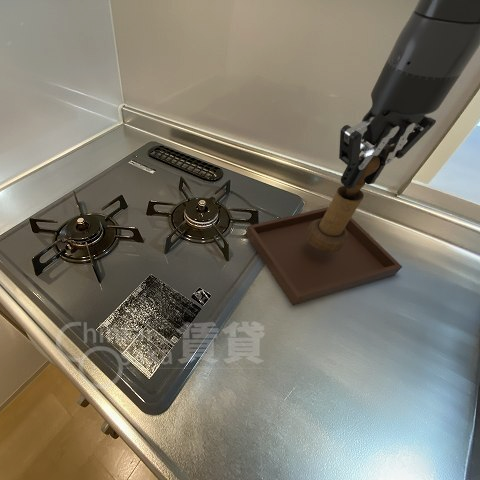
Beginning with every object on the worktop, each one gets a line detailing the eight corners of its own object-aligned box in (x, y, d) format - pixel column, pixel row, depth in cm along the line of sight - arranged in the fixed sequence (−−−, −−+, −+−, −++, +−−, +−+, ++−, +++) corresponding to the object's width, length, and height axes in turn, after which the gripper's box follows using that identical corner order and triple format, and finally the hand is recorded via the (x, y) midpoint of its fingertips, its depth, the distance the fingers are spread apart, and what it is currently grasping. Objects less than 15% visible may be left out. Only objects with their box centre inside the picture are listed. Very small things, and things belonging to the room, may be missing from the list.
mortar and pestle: (303, 245, 57) (345, 161, 44) (308, 223, 61) (348, 139, 48) (341, 257, 55) (398, 173, 42) (344, 233, 59) (397, 149, 46)
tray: (332, 214, 69) (338, 204, 67) (393, 276, 58) (402, 266, 56) (245, 235, 65) (247, 225, 63) (292, 306, 54) (297, 297, 52)
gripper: (401, 82, 32) (333, 207, 45) (503, 66, 35) (412, 189, 47) (351, 58, 37) (303, 177, 50) (444, 45, 39) (375, 162, 52)
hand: (356, 182), depth 48 cm, fingers closed on mortar and pestle, 3 cm apart
